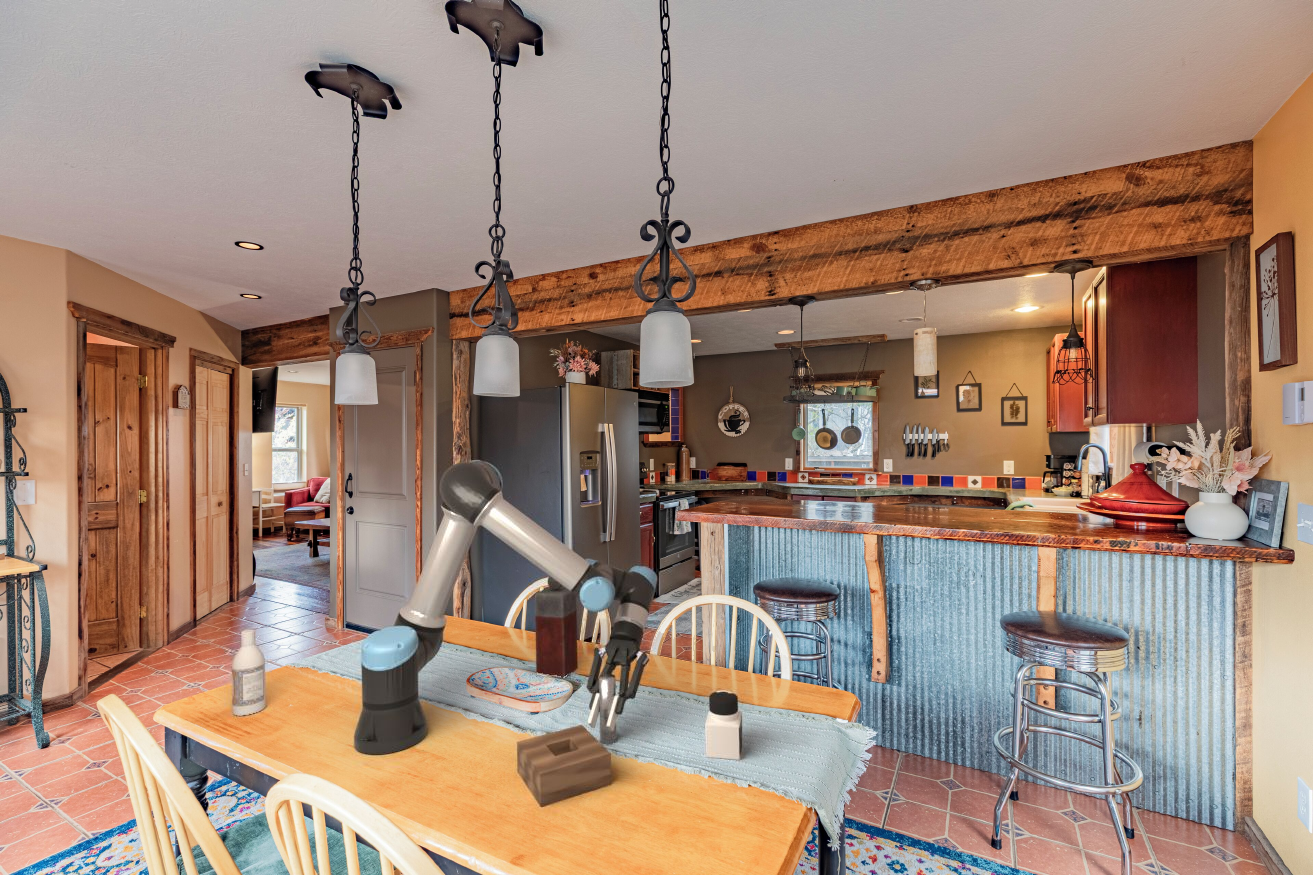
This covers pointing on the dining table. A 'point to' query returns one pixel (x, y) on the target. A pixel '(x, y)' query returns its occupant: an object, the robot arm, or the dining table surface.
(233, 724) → the dining table surface
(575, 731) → the bore block
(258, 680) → the bath foam
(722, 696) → the medicine bottle
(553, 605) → the square glass decanter
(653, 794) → the dining table surface
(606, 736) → the steel pin
